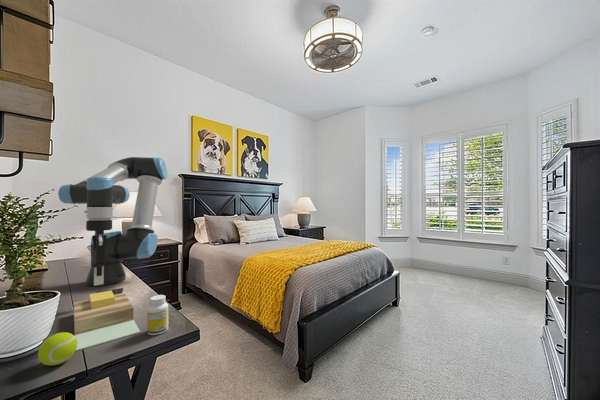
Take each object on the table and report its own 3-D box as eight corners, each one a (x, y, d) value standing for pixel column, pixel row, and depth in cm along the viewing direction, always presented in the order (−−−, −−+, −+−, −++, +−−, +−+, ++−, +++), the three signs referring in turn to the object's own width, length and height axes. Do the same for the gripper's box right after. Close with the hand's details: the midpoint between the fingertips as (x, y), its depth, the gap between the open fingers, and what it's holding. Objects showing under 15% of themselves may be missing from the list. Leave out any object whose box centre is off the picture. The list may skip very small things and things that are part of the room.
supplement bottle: (154, 326, 77) (154, 293, 77) (172, 326, 77) (172, 293, 77) (142, 335, 72) (142, 300, 72) (161, 336, 72) (162, 300, 72)
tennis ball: (73, 351, 64) (73, 324, 64) (80, 361, 60) (81, 332, 60) (35, 364, 59) (35, 335, 59) (40, 376, 55) (40, 345, 55)
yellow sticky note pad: (89, 300, 87) (89, 294, 87) (111, 296, 91) (111, 290, 91) (91, 308, 80) (91, 301, 80) (114, 303, 84) (114, 297, 84)
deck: (73, 314, 86) (73, 302, 86) (124, 303, 95) (124, 292, 95) (74, 335, 72) (74, 321, 72) (133, 320, 81) (133, 307, 82)
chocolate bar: (123, 287, 111) (119, 301, 96) (123, 290, 111) (119, 304, 96) (96, 291, 107) (88, 306, 91) (96, 293, 107) (88, 309, 91)
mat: (74, 336, 72) (74, 335, 72) (133, 320, 81) (133, 319, 81) (75, 351, 64) (75, 350, 64) (140, 332, 74) (140, 331, 74)
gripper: (85, 219, 97) (84, 282, 96) (87, 220, 87) (86, 291, 86) (110, 218, 102) (109, 278, 101) (114, 219, 92) (113, 286, 91)
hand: (98, 284), depth 94 cm, fingers closed
